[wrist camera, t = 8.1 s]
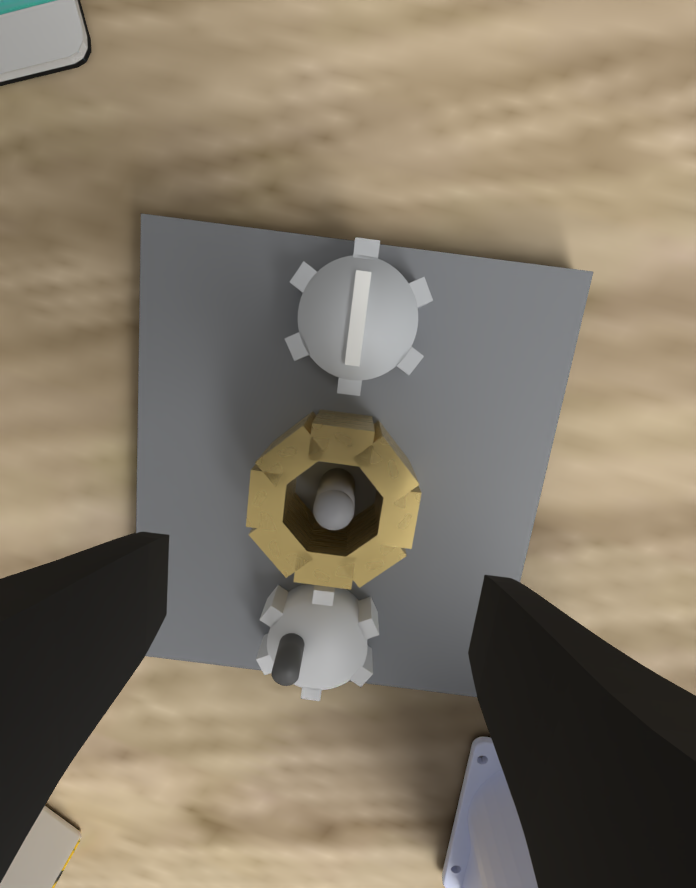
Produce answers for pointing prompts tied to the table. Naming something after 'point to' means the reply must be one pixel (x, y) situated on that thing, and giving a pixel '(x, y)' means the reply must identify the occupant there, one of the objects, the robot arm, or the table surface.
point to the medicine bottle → (43, 853)
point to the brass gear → (294, 526)
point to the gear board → (350, 391)
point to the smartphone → (41, 38)
